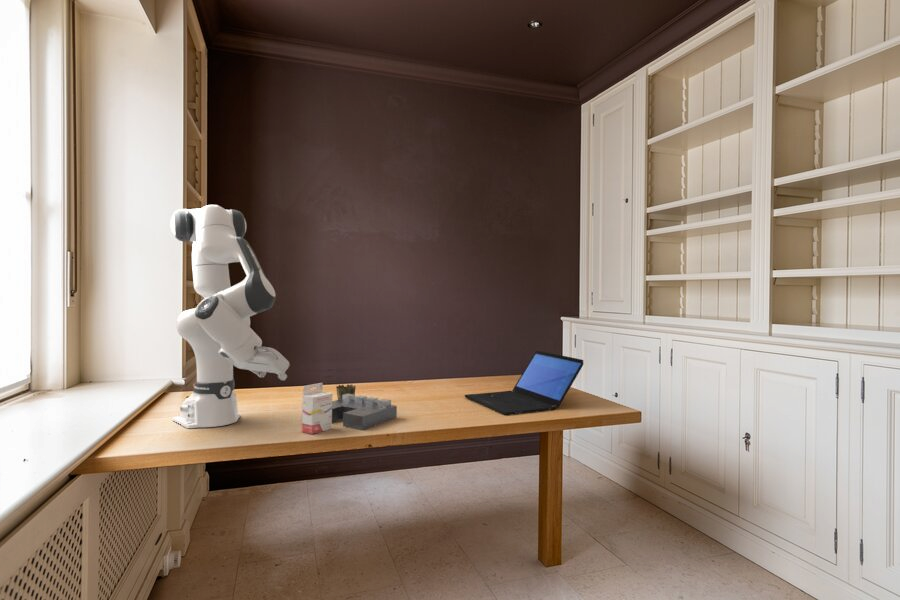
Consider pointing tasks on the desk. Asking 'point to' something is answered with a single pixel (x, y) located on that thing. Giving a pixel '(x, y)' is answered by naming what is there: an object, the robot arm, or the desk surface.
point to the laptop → (535, 386)
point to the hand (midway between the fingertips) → (273, 377)
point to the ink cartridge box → (316, 409)
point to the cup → (345, 390)
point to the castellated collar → (362, 411)
